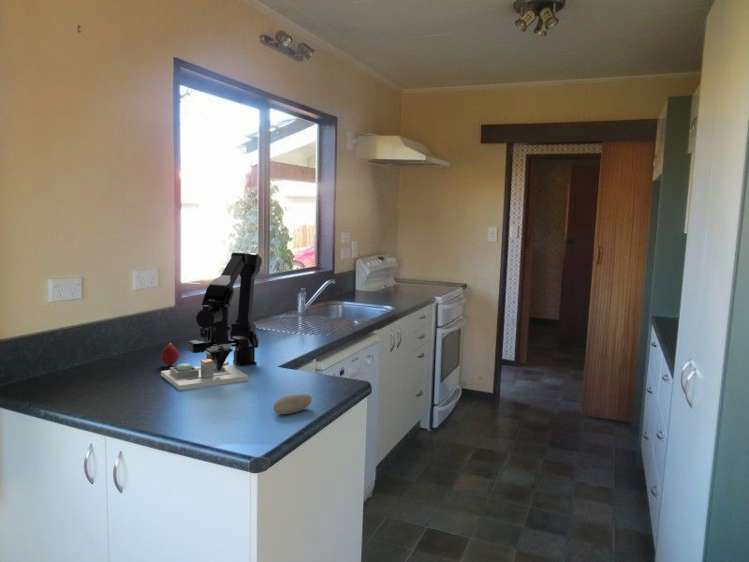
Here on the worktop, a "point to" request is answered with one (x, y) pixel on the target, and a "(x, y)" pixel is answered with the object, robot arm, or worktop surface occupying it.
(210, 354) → the slider grey
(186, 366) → the button green
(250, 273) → the robot arm
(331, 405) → the worktop surface
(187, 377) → the panel
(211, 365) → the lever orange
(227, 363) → the rocker grey
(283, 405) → the stone
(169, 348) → the onion
